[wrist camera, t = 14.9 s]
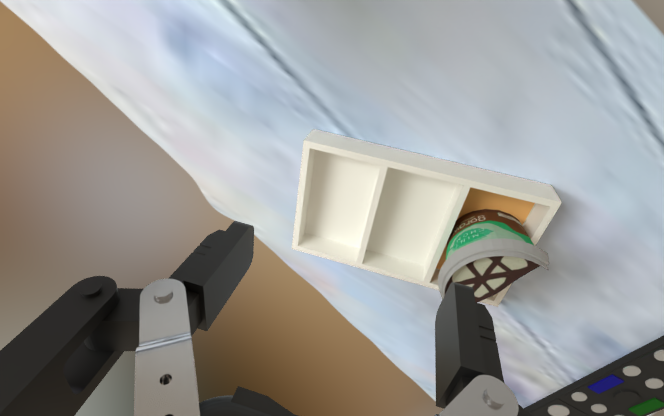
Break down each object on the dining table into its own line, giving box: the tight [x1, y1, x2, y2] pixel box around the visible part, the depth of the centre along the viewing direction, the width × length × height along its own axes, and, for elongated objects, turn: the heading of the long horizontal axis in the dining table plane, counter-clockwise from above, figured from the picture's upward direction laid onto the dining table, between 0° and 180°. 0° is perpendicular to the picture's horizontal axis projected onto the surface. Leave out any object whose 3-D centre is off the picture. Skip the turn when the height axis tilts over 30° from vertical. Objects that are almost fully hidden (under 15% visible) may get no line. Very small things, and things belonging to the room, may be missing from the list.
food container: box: [438, 209, 549, 303], centre depth 40 cm, size 12×6×10 cm, turn 144°
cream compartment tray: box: [292, 129, 562, 307], centre depth 45 cm, size 29×17×4 cm, turn 81°
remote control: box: [524, 336, 664, 416], centre depth 54 cm, size 11×30×2 cm, turn 154°
